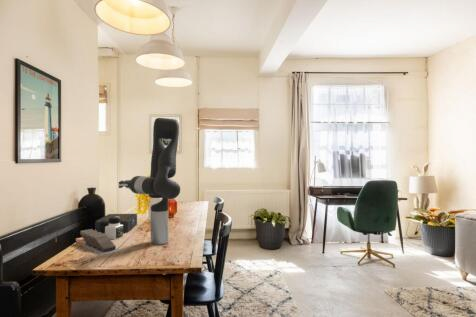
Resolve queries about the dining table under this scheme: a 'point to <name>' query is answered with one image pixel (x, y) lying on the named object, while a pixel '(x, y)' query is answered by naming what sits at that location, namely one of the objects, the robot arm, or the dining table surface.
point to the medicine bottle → (114, 228)
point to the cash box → (125, 219)
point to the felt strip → (100, 250)
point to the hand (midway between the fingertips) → (121, 183)
